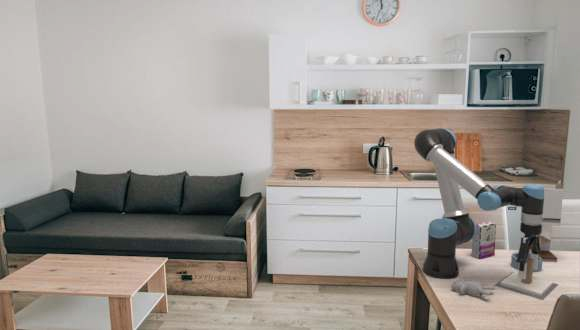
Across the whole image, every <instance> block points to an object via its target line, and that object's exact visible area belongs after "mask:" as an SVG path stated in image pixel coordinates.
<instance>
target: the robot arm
mask: <svg viewBox="0 0 580 330" xmlns="http://www.w3.org/2000/svg"><path fill="white" fill-rule="evenodd" d="M413 146H414V149H415V151H416V152H417V154H418V155H419V156H420V157H421V158H422V159H424V160H425V161H426V162H427V163H432V164H433V167H434V170H435V176H436V179H437V184H438V188H439V193H440V198H441V202H442V206H443V211H444V213H443V214H442V216H441V218H435V219H433V220H431V221H430V222H429V224H428V229H427V231H428V232H427V234H428V237H427V254H426V257H425V259H424V262H423V265H422V271H423V273H425V275H427V276H430V277H433V278H437V279H441V280H442V279H446V280H447V279H448V280H449V279H455V278H457V277H458V276H459V273H460V269H459V265H458V262H457V258H456V253H457V252H456V250H457V249H456V248H457V247H458V246H460V245H462V244H465V243H468V242H470V241H472V239H473V238H474V236H475V235H476V232H477V226H476V224H477V223H476V222H475V220H474V219H473V218H472V217H470V215H469V211H467V210H466V209H465V207H464V204H463V197H462V194H461V189H460V187H461V188H463V189H464V190H465V192H467V193H469V194H470V195H471V196H472V197H473V198H474V199H476V200H477V205H478V207H479V208H480V209H481V210H483V211H487V212H490V211H495V210H498V209H500V208H503V207H506V206H512V207H514V206H515V207H521V212H520V213H521V214H520V221H521V222H520V229H519V231H520V233H522V234H524V236H523V237H521V238H520V245H519V249H518V252H517V253H518V257H517V260H516V262H519V266H518V270H517V273H518V278H522V279H526V268H527V263H526V260H527V257H528V254H529V251H530V249H531V252H532V253H531V255H530V258H532V259H534V263H533V269H535V270H537V266H538V254H541V252H539V251H540V241H539V234H541V232H542V225H541V223H542V219H544V217H542V215H543V205H544V198H545V197H544V187H543V186H541V185H542V184H535V183H534V184H533V183H527V184H524V185H523V186H522V188H521V187H513V186H507V185H503V184H502V185H500V184H498V185H497V184H496V185H494V186H491V185H490V184H489V183H487V182H486V181H485V180H484V179H482V178H481V177H479V175H477V174H476V173H475V172H473V171H472V170H471V169H469V168H468V167H467V166H466V165H465V164H463V163H462V162H460V160H458V159H456V157H454V156H455V155H456V152H455V148H456V146H457V136H456V135H455V134H454V132H453V131H451V130H449V129H448V128H443V127H442V128H441V127H440V128H439V127H438V128H432V129H423V130H421V131H420V132H418V133H417V134H416V136H415V138H414V141H413ZM521 259H522V260H521Z"/></svg>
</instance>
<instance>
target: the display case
mask: <svg viewBox="0 0 580 330" xmlns="http://www.w3.org/2000/svg"><path fill="white" fill-rule="evenodd" d="M540 185H541V186H543V187H544V197H545V198H544V205H543V215H542V217H544V219H542V223H541V225H542V232H541V234H539V241H540V251H539V252H541V254H538V256H539V257H541V258H542V260H543V261H542V262H548V263H557V262H558V257H557V256H555V254H554V253H552V252H551V242H552V234H553V232H552V231H553V226H559V227H560V226H561V221H562V220H561V218H562V209H563V208H562V207H563V198H564V197H563V196H564V189H563V188H556V185H555V184H540ZM529 253H530V254H531V253H532V252H531V249H530V251H529Z"/></svg>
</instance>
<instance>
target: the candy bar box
mask: <svg viewBox="0 0 580 330" xmlns="http://www.w3.org/2000/svg"><path fill="white" fill-rule="evenodd" d="M476 226H477V232H476V235H475V236H474V238H473V239H471V241H472V242H471V244H472V245H471V257H473V258H475V259H478V260H483V259H485V258H489V257H492V256H493V257H494V256H495V250H496V234H497V233H496V230H497V229H496V228H497V223H495V222H493V221H484V222H483V221H482V222H478V223H476Z"/></svg>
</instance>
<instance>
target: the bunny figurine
mask: <svg viewBox="0 0 580 330" xmlns="http://www.w3.org/2000/svg"><path fill="white" fill-rule="evenodd" d="M450 288H451V290H453V291H454V292H456V293H459V294H462V295H463V294H466V295H468V296H471V297H476V298H477V297H478V296H479V295H481V294H482V295H485V296H488V297H489V296H491V294H492V292H491V290H492V291H494V290H495V286H494V285H482V284H481V282H480V281H479V280H475V279H472V280H471V279H470V280H462V279H458V280H457V281H454V282H452V283H451V287H450Z"/></svg>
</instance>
